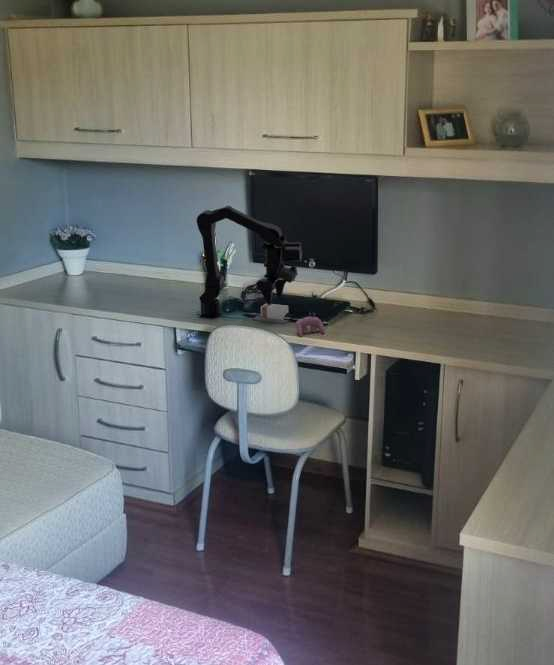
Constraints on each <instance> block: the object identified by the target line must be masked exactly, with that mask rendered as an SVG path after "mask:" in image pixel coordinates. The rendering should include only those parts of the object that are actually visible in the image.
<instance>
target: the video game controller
mask: <svg viewBox="0 0 554 665" xmlns="http://www.w3.org/2000/svg"><path fill="white" fill-rule="evenodd" d="M307 326H310V328H308V327H307ZM295 328H296V332H297V334H298V336H299V337H300V338H303V334H304V333H305V334H307V333H309V331H310V332H311V333H312V332H314V333H316V332H317V329H318V330H319V331H320V333H321V334H322V333H324V334H325V327H324V324H323V322H322V320H321V319H320V318H319V317H317V316H305V317H302V318H300V319H298V320H296V321H295Z"/></svg>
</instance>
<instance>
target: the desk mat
mask: <svg viewBox="0 0 554 665" xmlns="http://www.w3.org/2000/svg"><path fill="white" fill-rule="evenodd" d="M252 320H253V321H256V322H257V321H258V322H267V323H275V324H281V325H282V324H283V325H285V324H286V323H288V322H289V321H290V320H280V319H272V318H262V317H260V316H258V315H256V316H255V317H253V318H252Z"/></svg>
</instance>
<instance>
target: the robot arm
mask: <svg viewBox="0 0 554 665" xmlns="http://www.w3.org/2000/svg"><path fill="white" fill-rule="evenodd" d="M226 219H227V220H229V221H231V222H234V223H235V224H237V225H239V226H242V227H243V228H246V229H247V230H250V231H251V232H253V233H254V234H256V235H257V236H259V238H260V239H262V240H263V241H264V242H263V243H262V245H260V247H259V249H260V250H265V263H263V267H264V268H265V271H266V272H265V274H263V276H264V277H262V278H260V279H258V280H257V281H256V282H255V285H256V286H255V287H256V289H258V290H259V291H260V292H261V294H262V296H263V298H264V300H265V302H266V303H267V304H268V305H271V304H272V298H273V292H274V291H275V292H276V293H275V294H276V295H277V298H278V299H281V298H283V297H282V296H283V292H284V289H285V285H286V284H287V283H292V282H294V281H295V280H296V277H297V276H299V275H298V270H297V269H298V268H297V266H295V265H292V266H290V267H286V266H285V263H284V261H282V259H283V260H285V262H302V260H303V259H302V258H303V249H302V246H301V244H302V243H301V242H300V241H297V242H296V241H295V242H289V241H288V239H286V237H285V236H284V235H283V233H282V229H281V227H280V226H278V225H276V224H272V223H269V222H263V221H260V220H258V219H256V218H255V217H252V216H249V215H248V214H246V213H244V212H241V211H240V210H238V209H236V208H233V206H231V205H225V206H224V207H220V208H217V209H214V210H211V209H210V210H209V209H206V210H204V211H202V212H201V213H200V214H199V215H198V216H197V217H196V226H197V228H198V231H199V233H200V235H201V237H202V245H203V253H204V263H205V268H206V271H205V272H206V277H205V283H204V292H203V293H202V294H201V295H200V296H199V301H200V312H201V314H199V315H198V316H199V317H200V318H207V319H208V318H210V319H216V318H217V317H218V316H220V315H222V314H221V313H222V312H221V303H220V299H219V295H221V293H223V291H224V289H225V287H226V284H225V276H224V275H221V274H220V273H219V268H218V267H219V266H218V258H217V257H218V256H217V251H216V239H215V233H216V231H215V230H216V224H217V223H218V222H220V221H223V220H226Z"/></svg>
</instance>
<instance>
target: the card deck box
mask: <svg viewBox="0 0 554 665" xmlns="http://www.w3.org/2000/svg"><path fill="white" fill-rule="evenodd" d="M287 313H289V305H287V304H286V305H284V304H283V305H282V304H277V303H276V304H274V303H271V305H268V304H267V302H266V303H265V304H263V305H261V306H260V314H261V317H262V318H272V319H280V320H284V319H283V318H284V316H285V315H286V314H287Z"/></svg>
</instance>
